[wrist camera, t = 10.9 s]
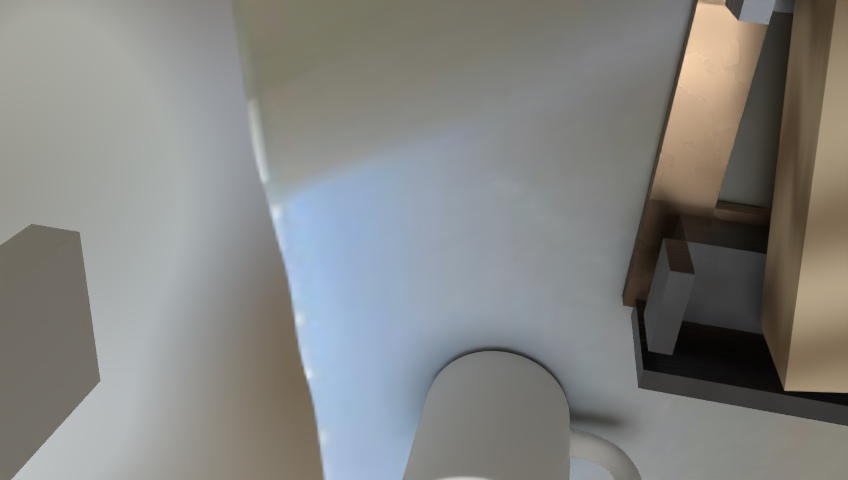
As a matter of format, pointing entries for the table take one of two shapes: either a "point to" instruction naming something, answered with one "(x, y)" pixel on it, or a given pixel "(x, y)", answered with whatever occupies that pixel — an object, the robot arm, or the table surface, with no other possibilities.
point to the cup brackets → (710, 234)
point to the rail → (811, 208)
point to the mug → (503, 426)
